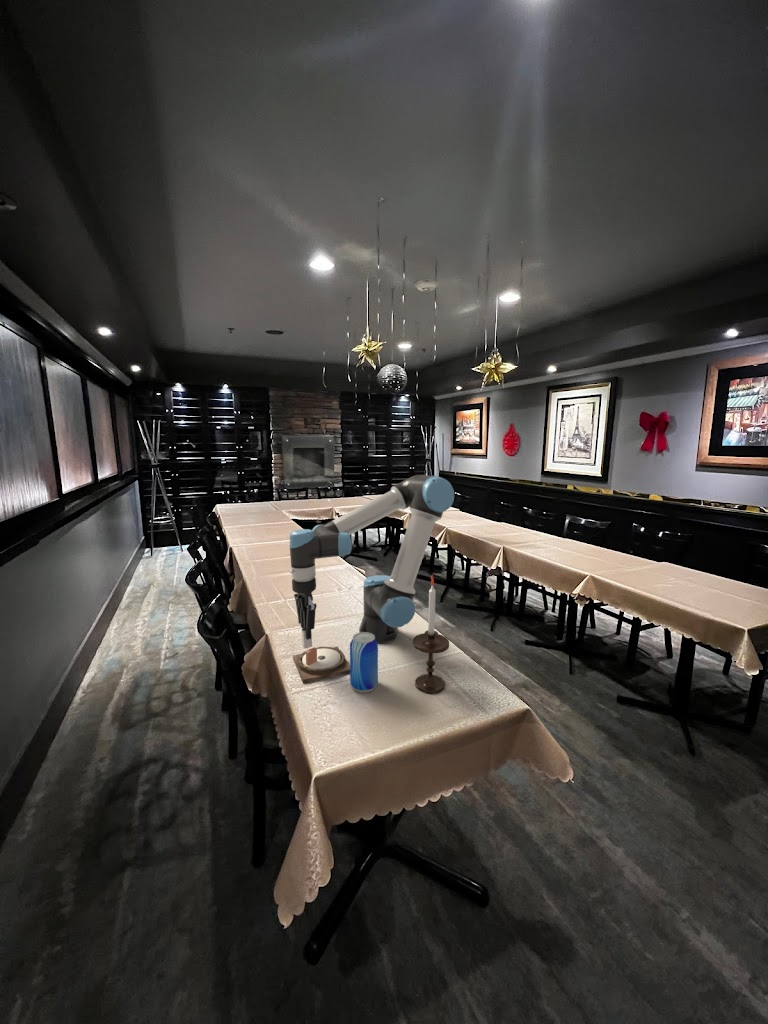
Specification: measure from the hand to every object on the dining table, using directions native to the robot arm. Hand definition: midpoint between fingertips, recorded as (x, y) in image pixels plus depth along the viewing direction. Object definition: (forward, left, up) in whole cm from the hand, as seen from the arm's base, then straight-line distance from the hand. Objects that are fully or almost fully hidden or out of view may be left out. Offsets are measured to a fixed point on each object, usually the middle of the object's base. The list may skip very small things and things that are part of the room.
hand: (307, 646), depth 132 cm
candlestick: (-40, +6, -7) cm, 41 cm away
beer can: (-20, +9, -7) cm, 23 cm away
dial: (-4, -1, -6) cm, 7 cm away
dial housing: (-4, -1, -7) cm, 8 cm away
